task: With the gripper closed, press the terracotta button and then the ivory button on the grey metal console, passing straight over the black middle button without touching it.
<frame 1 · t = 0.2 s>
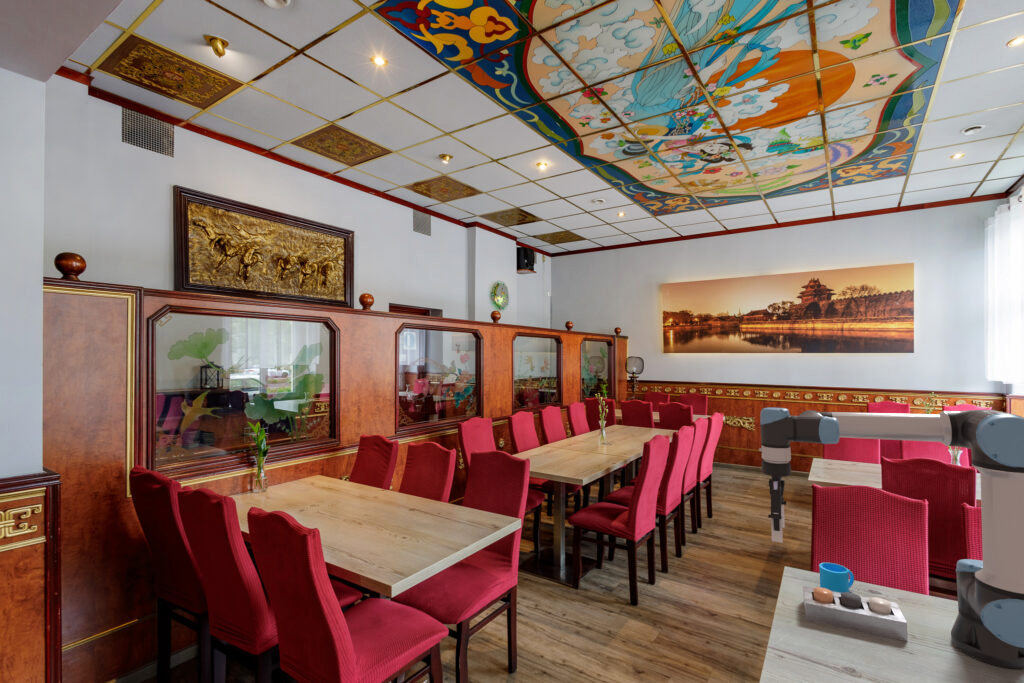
hand: (778, 533, 140), 27 cm above the table, fingers open, 13 cm apart
button black: (851, 603, 144), point 5 cm above the table, slide at 0.0 cm
console: (851, 619, 143), on the table
mug: (839, 592, 161), on the table
button terracotta: (823, 597, 147), point 5 cm above the table, slide at 0.0 cm
button ivory: (880, 608, 140), point 5 cm above the table, slide at 0.0 cm
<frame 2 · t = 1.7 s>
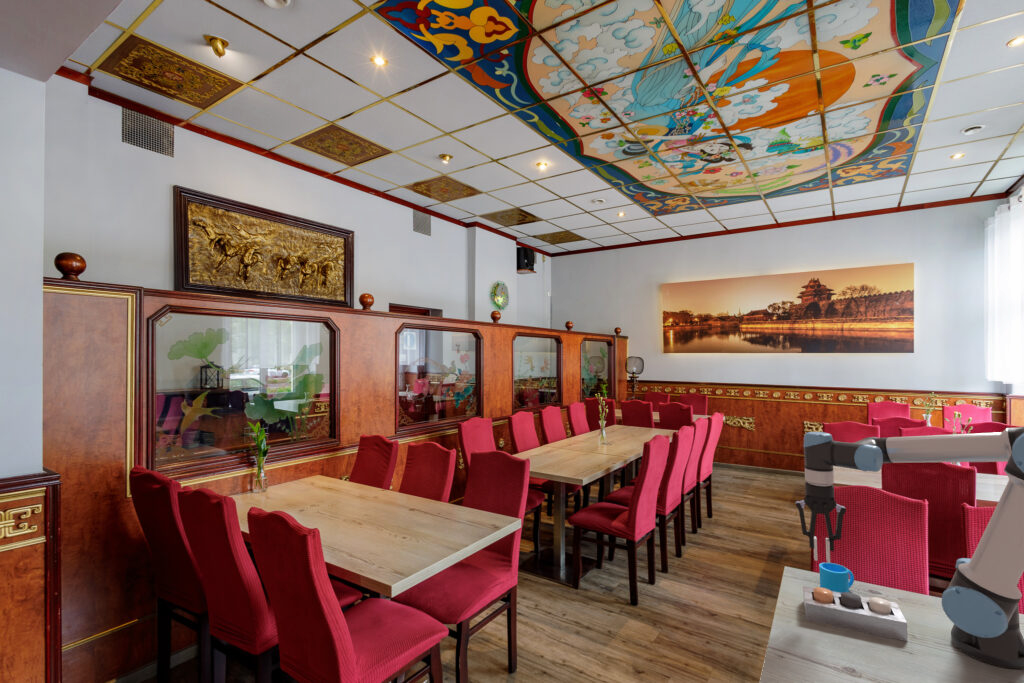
hand: (822, 559, 147), 17 cm above the table, fingers open, 3 cm apart
nothing on the table moved.
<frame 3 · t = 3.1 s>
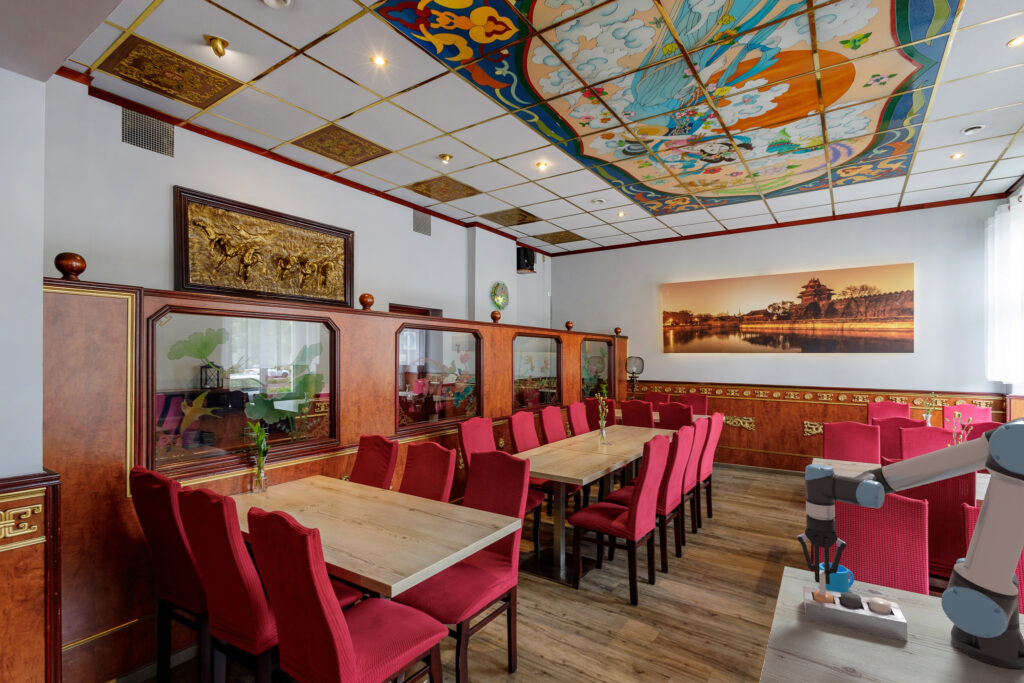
hand: (822, 593, 147), 6 cm above the table, fingers closed
button terracotta: (823, 601, 147), point 4 cm above the table, slide at 1.0 cm, touching gripper
everything else where it was.
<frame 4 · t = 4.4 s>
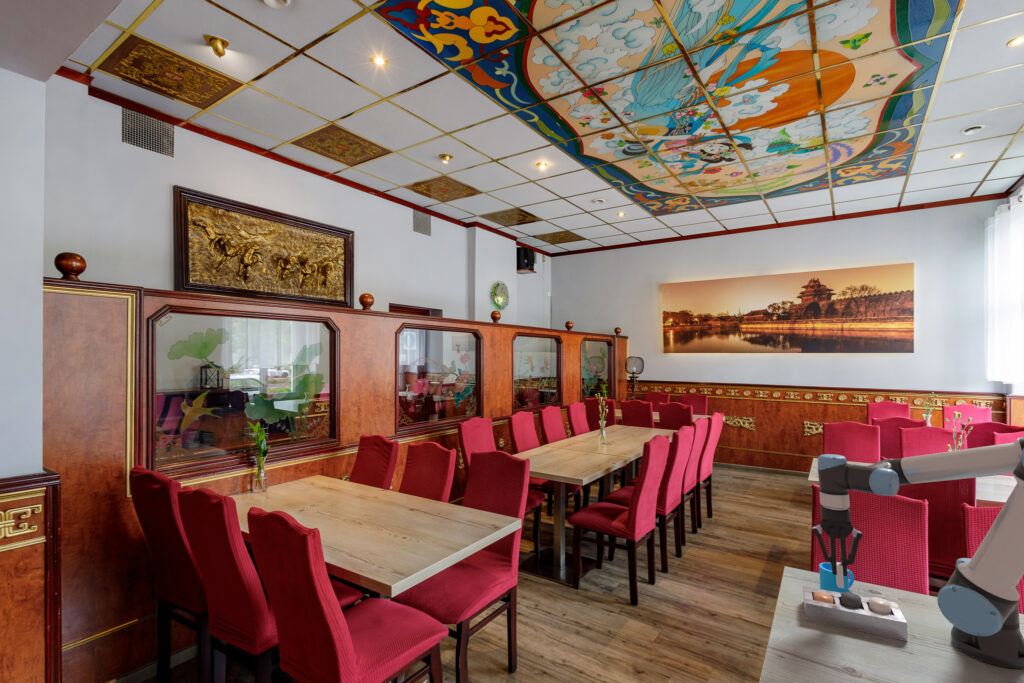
hand: (840, 585, 145), 10 cm above the table, fingers closed
button terracotta: (823, 602, 147), point 4 cm above the table, slide at 1.5 cm
everything else where it was.
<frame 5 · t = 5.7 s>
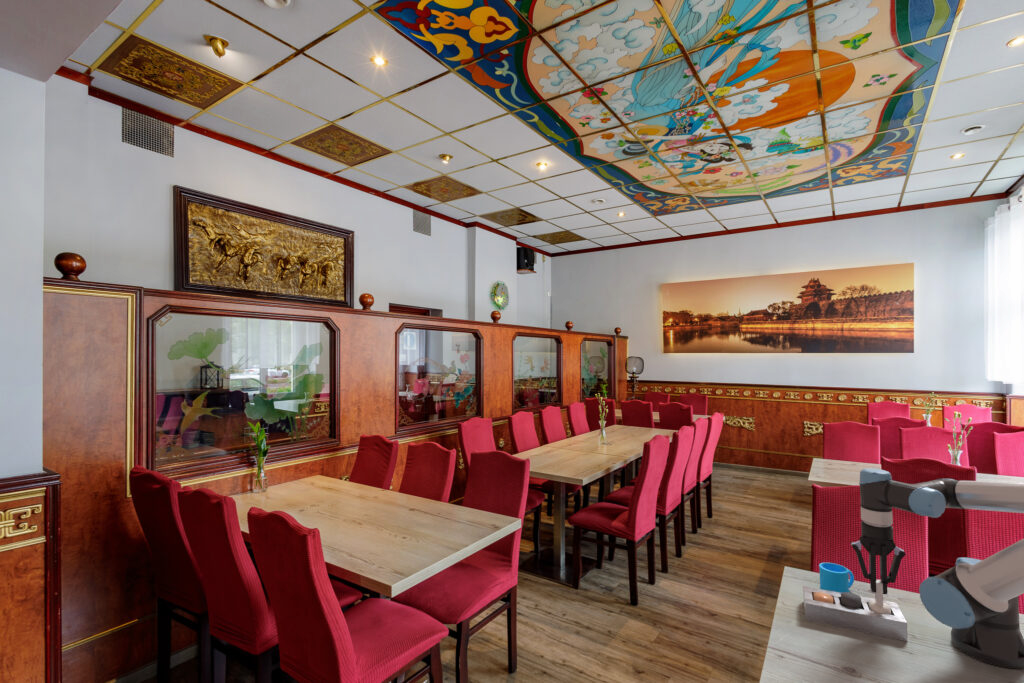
hand: (879, 603, 140), 6 cm above the table, fingers closed
button ivory: (880, 611, 140), point 4 cm above the table, slide at 1.0 cm, touching gripper
everything else where it was.
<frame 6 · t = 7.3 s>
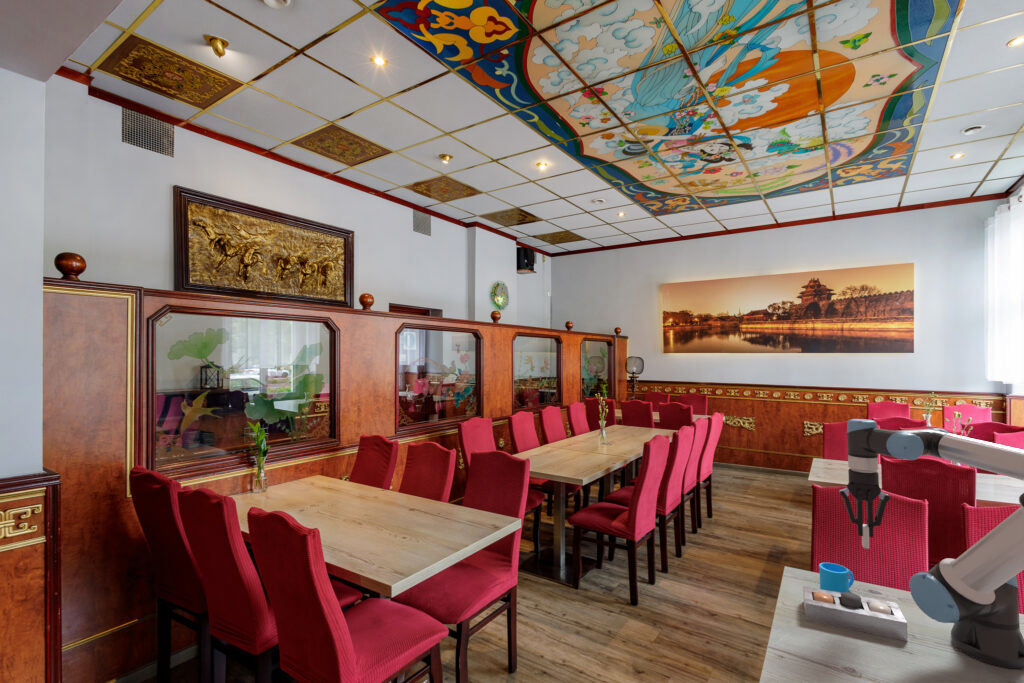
hand: (865, 546, 147), 20 cm above the table, fingers closed
button ivory: (880, 613, 140), point 4 cm above the table, slide at 1.5 cm
everything else where it was.
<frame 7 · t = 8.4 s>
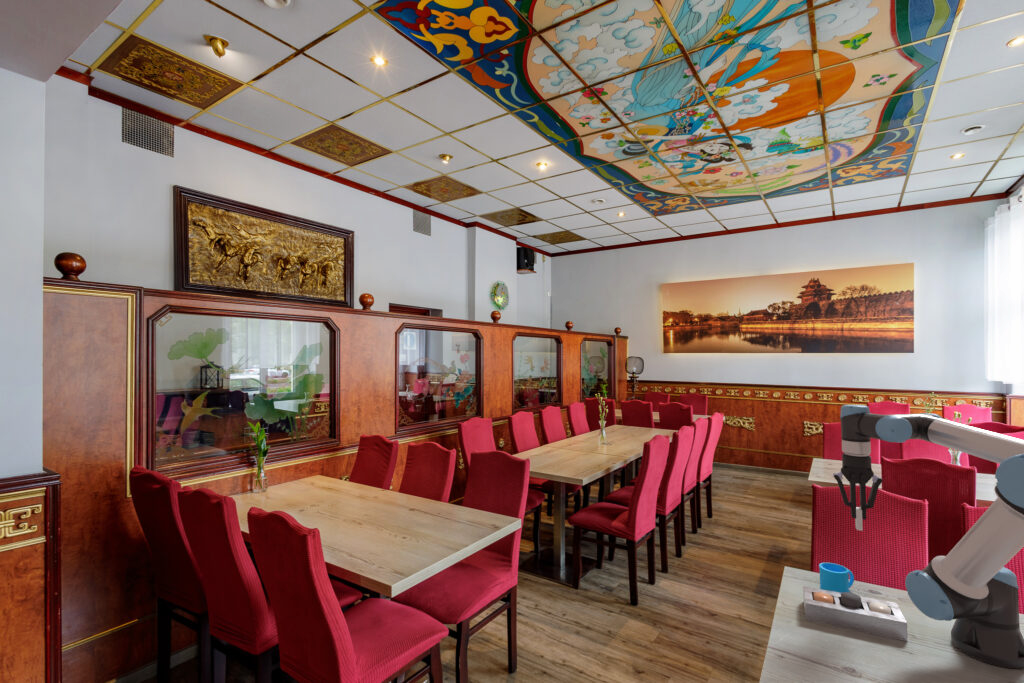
hand: (859, 528, 151), 24 cm above the table, fingers closed
nothing on the table moved.
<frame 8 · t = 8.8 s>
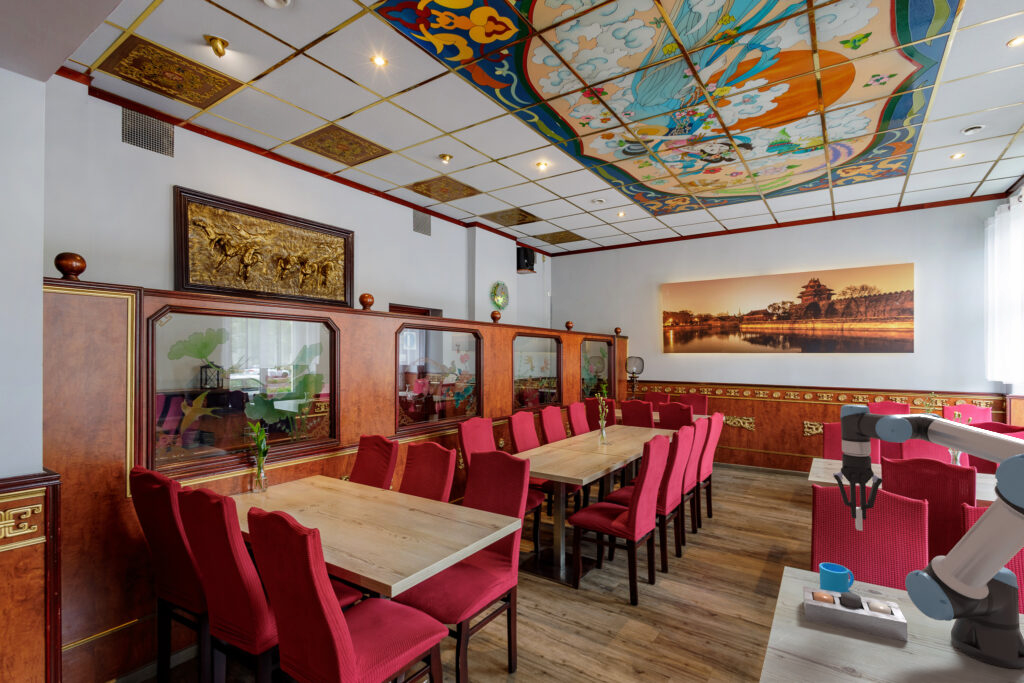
hand: (859, 528, 151), 24 cm above the table, fingers closed
nothing on the table moved.
at the end: button terracotta slide at 1.5 cm; button ivory slide at 1.5 cm; button black slide at 0.0 cm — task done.
